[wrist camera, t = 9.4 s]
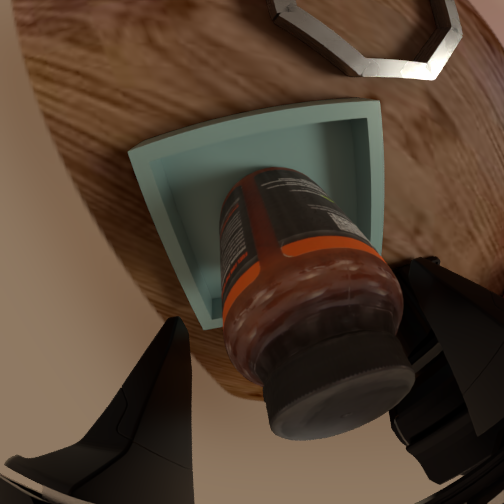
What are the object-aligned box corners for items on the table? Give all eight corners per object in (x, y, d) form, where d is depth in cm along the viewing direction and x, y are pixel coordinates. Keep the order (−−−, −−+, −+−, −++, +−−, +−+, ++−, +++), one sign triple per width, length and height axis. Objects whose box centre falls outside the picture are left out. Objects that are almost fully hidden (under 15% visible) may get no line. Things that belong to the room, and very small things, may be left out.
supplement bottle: (228, 266, 17) (242, 460, 7) (210, 171, 13) (191, 383, 4) (324, 252, 17) (405, 420, 7) (325, 158, 14) (484, 308, 4)
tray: (362, 266, 19) (377, 288, 17) (204, 303, 19) (203, 330, 17) (356, 97, 12) (379, 100, 10) (142, 141, 13) (127, 151, 10)
